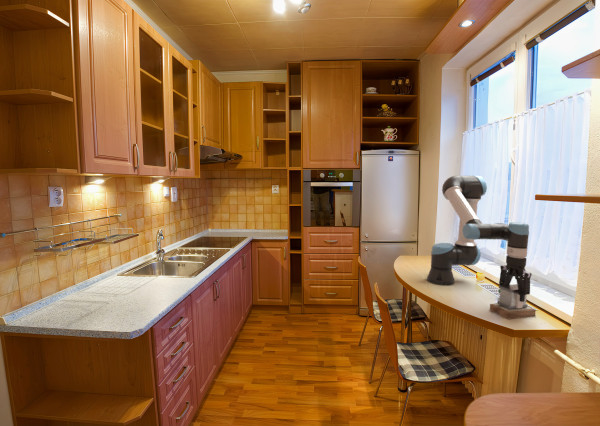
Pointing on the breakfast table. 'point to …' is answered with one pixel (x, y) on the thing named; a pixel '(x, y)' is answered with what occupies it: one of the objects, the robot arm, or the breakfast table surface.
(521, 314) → the stand
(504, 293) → the block
